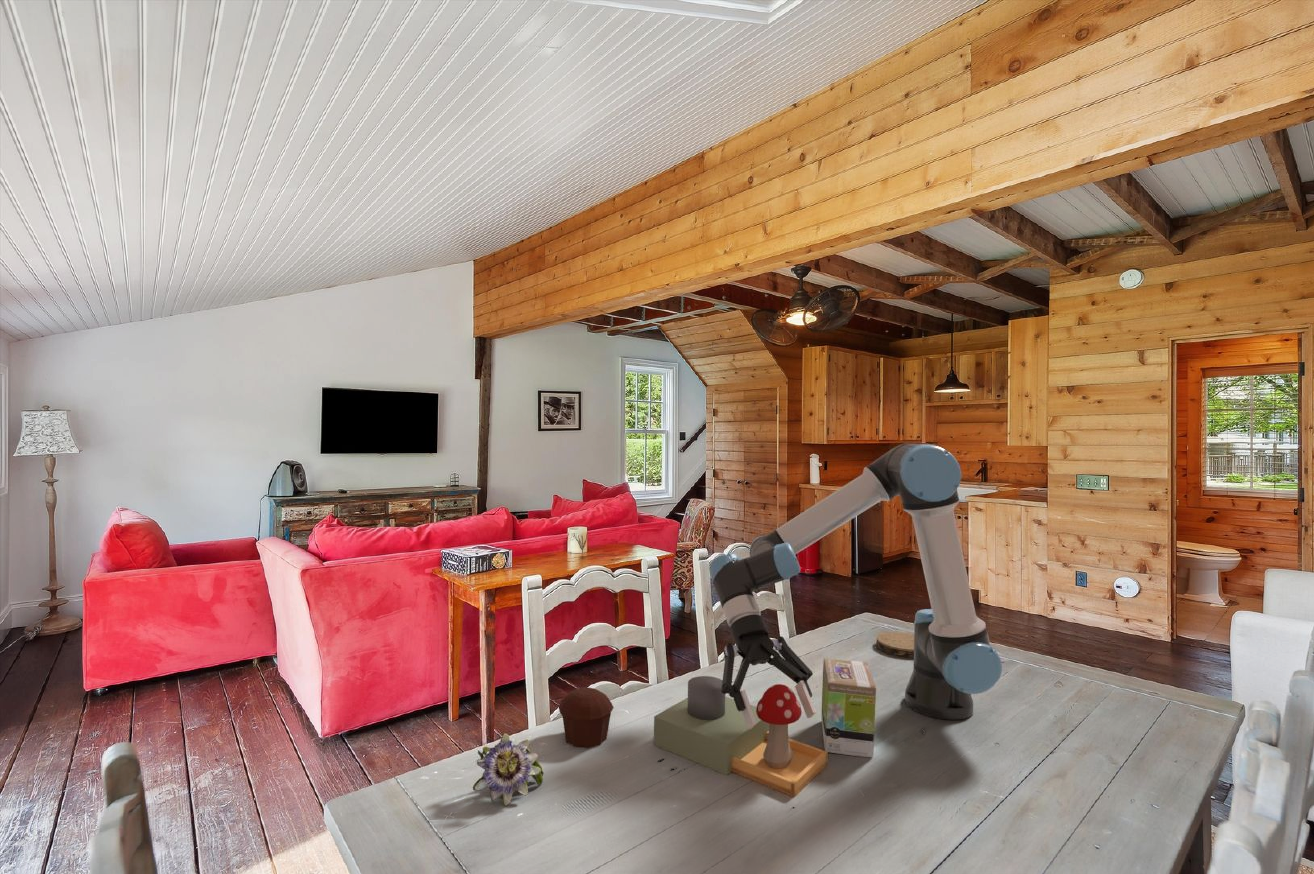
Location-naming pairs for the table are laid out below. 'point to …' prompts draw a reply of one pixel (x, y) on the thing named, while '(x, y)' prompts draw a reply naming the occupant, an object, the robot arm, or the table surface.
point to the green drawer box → (730, 739)
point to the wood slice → (896, 644)
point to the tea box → (848, 707)
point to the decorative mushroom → (778, 723)
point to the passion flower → (508, 769)
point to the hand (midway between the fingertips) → (782, 721)
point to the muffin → (586, 717)
